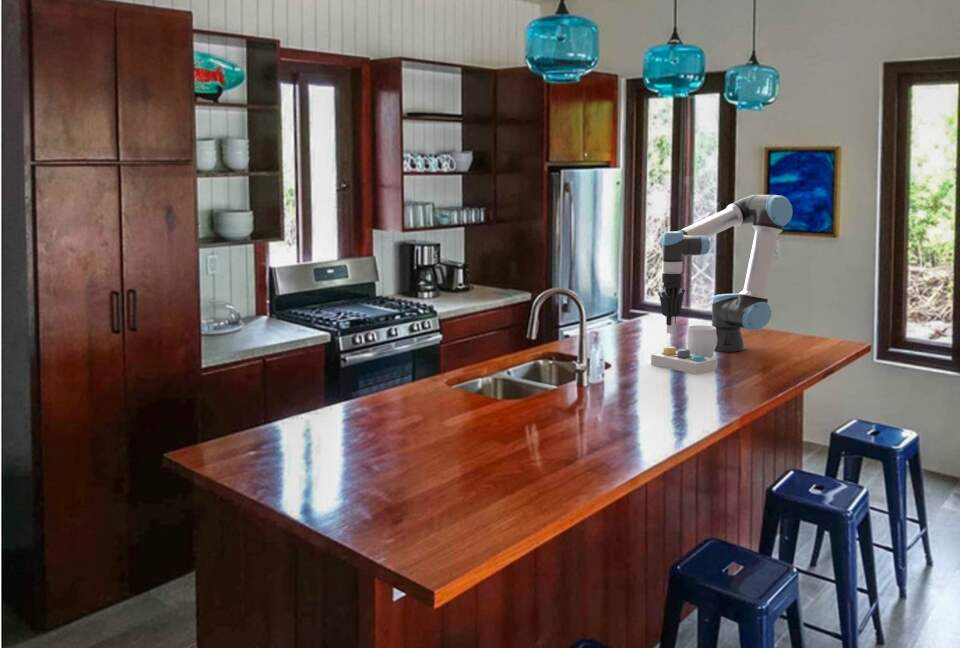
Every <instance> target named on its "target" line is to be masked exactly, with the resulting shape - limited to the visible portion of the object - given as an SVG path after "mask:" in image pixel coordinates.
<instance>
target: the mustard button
mask: <svg viewBox="0 0 960 648" xmlns="http://www.w3.org/2000/svg"><path fill="white" fill-rule="evenodd" d="M676 351H677V347H676V346H671V345H668V346H663V351H662V352H663V355H668V356H673V355H676Z"/></svg>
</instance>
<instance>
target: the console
mask: <svg viewBox="0 0 960 648" xmlns="http://www.w3.org/2000/svg"><path fill="white" fill-rule="evenodd" d="M650 355H651V356H650V365H651V366H657V367H661V368H665V369H670V370H675V371H679V372H683V373H688V374H692V375H699V374H702V373H708V372H713V371H717V368H718V359H717V358H712V357H711V358H708V357H705V361H702V362H696V361H692V360H691V358H692V356H693V354H690V358H687V359H682V358H677V350H676V355H673V356H668V355H663V351H661V352H656V353H652V354H650Z"/></svg>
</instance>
